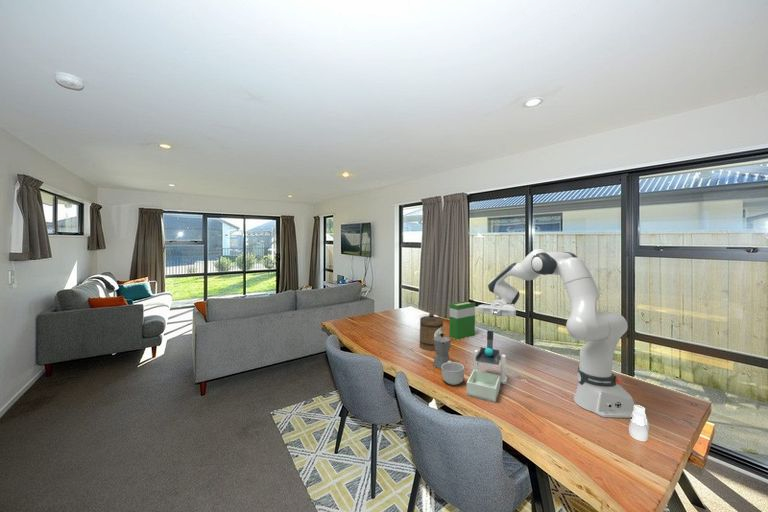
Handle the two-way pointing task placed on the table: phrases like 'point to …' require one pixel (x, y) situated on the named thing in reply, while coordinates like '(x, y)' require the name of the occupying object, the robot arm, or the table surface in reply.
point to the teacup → (452, 372)
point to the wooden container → (430, 331)
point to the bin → (483, 385)
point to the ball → (488, 351)
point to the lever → (483, 357)
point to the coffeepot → (441, 350)
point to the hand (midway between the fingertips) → (494, 313)
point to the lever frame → (502, 376)
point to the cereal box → (462, 319)
